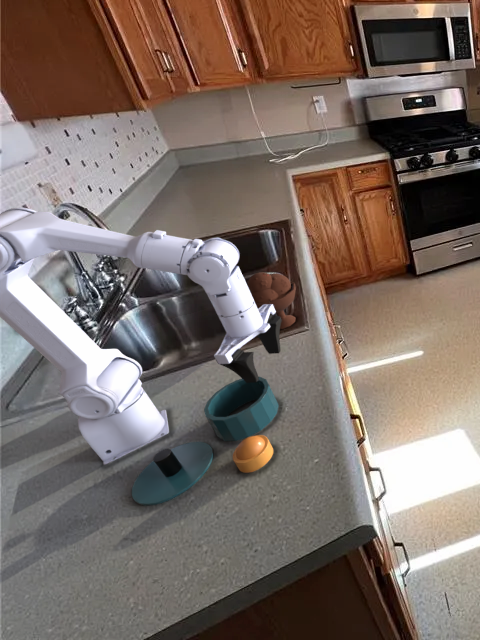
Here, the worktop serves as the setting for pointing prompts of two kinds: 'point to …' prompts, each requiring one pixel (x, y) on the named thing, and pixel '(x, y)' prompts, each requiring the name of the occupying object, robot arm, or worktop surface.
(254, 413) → the pot
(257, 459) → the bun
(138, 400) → the robot arm
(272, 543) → the worktop surface
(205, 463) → the lid
